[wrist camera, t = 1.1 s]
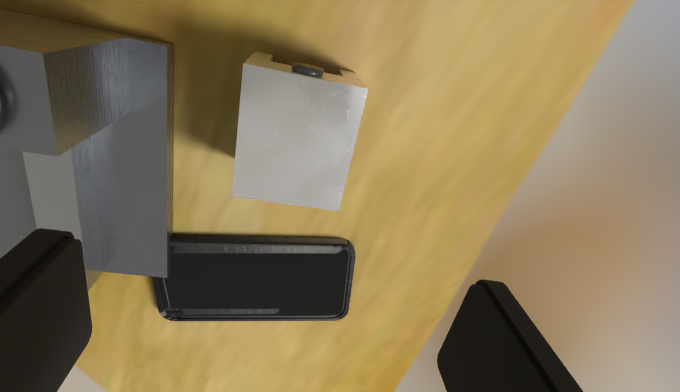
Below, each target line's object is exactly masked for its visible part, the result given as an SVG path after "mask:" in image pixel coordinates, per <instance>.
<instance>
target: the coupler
mask: <svg viewBox="0 0 680 392" xmlns="http://www.w3.org/2000/svg"><path fill="white" fill-rule="evenodd" d="M173 123H174V44H171V43H166V42H161V41H156V40H152V39H147V38H142V37H137V36H132V35H127V34H122V33H117V32H113V31H108V30H103V29H98V28H93V27H88V26H83V25H78V24H74V23H69V22H64V21H59V20H54V19H49V18H44V17H39V16H35V15H30V14H25V13H20V12H15V11H10V10H5V9H0V258H1V257H3V256H4V255H5V254H6V253H7V252H9V251H10V250H11V249H12V248H13V247H15V246H16V245H17V244H18V243H20V242H21V241H22V240H23V239H24V238H26V237H27V236H28V235H29V234H30V233H32V232H33V231H34V230H36V229H39V228H44V229H53V230H61V231H69V232H71V233H72V234H73V235H74V238H75V239H79V240H80V241H81V243H82V248H83V256H84V264H85V273H86V281H87V289H88V291H89V290H90V288H91V287H92V286H93V284H94V283H95V282H96V280H97V279H98V278H99V276H100V275H101V274H102V272H112V273H122V274H132V275H142V276H152V277H162V278H167V277H168V275H169V273H170V239H171V237H172V235H173Z"/></svg>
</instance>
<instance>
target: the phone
mask: <svg viewBox="0 0 680 392" xmlns="http://www.w3.org/2000/svg"><path fill="white" fill-rule="evenodd" d="M354 264H355V250H354V246H353V244H352V243H351V242H350V241H348V240H346V239H342V238H305V237H262V236H219V235H176V234H173V235H172V237H171V239H170V273H169V275H168V277H167V278H162V277H152V278H153V283H154V288H155V294H156V299H157V305H158V310H159V313H160V314H161V315H162V317H164V318H165V319H168V320H171V321H335V320H340V319H342V318H344V317H345V316H346V315H347V313H348V310H349V302H350V295H351V287H352V279H353V271H354Z"/></svg>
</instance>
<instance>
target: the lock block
mask: <svg viewBox="0 0 680 392" xmlns="http://www.w3.org/2000/svg"><path fill="white" fill-rule="evenodd" d="M272 60H273V55H270V54H265V53H260V52H255V53H254V54H253V55H252V56H251V57H250V58H249V59H248V60H246V61H245V62H244V63H243V72H242V84H241V95H240V107H239V118H238V129H237V141H236V152H235V164H234V175H233V187H232V196H233V197H240V198H247V199H254V200H262V201H269V202H276V203H283V204H290V205H297V206H304V207H311V208H319V209H326V210H333V211H339V209H340V205H341V200H342V196H343V192H344V188H345V184H346V180H347V175H348V171H349V167H350V163H351V159H352V154H353V150H354V146H355V142H356V138H357V134H358V129H359V125H360V121H361V117H362V113H363V109H364V104H365V100H366V96H367V92H368V88H367V87H366V85H365V84H364V83H363V82H362V80H361V79H360V78H359V76H358V75H357V74H356V72H351V71H346V70H341V69H339V74H338V75H334V74H330V73H325V72H324V69H323V68H320V67H317V66H314V65H310V64H305V63H297V62H294V63H292V66H291V65H286V64H281V63H276V62H272Z"/></svg>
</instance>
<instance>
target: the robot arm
mask: <svg viewBox="0 0 680 392" xmlns="http://www.w3.org/2000/svg"><path fill="white" fill-rule="evenodd" d="M91 333H92V322H91V314H90V305H89V297H88V289H87V281H86V273H85V264H84V256H83V248H82V243H81V241H80V240H79V239H75V238H74V235H73V234H72V233H71V232H69V231H61V230H53V229H44V228H39V229H36V230H34V231H33V232H32V233H30V234H29V235H28V236H27V237H26V238H24V239H23V240H22V241H21V242H20V243H18V244H17V245H16V246H15V247H13V248H12V249H11V250H10V251H9V252H7V253H6V254H5V255H4V256H3V257H1V258H0V392H57V391H58V389H59V387H60V386H61V384H62V383H63V381H64V380H65V378H66V377H67V375H68V373H69V372H70V370H71V369H72V367H73V366H74V364H75V363H76V361H77V359H78V358H79V356H80V355H81V353H82V352H83V350H84V349H85V347H86V345H87V344H88V342H89V339H90V337H91ZM437 363H438V368H439V371H440V374H441V377H442V379H443V382H444V385H445V388H446V390H447V392H583V391H582V389H581V388H580V387H579V385H578V384H577V382H576V381H575V380H574V378H573V377H572V376H571V374H570V373H569V372H568V370H567V369H566V367H565V366H564V365H563V363H562V362H561V361H560V359H559V358H558V356H557V355H556V354H555V352H554V351H553V350H552V348H551V347H550V345H549V344H548V343H547V341H546V340H545V339H544V337H543V336H542V334H541V333H540V332H539V330H538V329H537V327H536V326H535V325H534V323H533V322H532V321H531V319H530V318H529V316H528V315H527V314H526V313H525V311H524V310H523V308H522V307H521V306H520V304H519V303H518V301H517V300H516V299H515V297H514V296H513V295H512V293H511V292H510V290H509V289H508V288H507V286H506V285H505V284H504V283H502V282H498V281H489V280H479V281H478V282H476V284H473V285H471V286H470V288H469V290H468V292H467V294H466V296H465V298H464V300H463V302H462V305H461V307H460V309H459V311H458V313H457V315H456V317H455V319H454V321H453V324H452V326H451V328H450V330H449V332H448V334H447V336H446V339H445V341H444V343H443V345H442V347H441V349H440V351H439V353H438V358H437Z"/></svg>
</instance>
